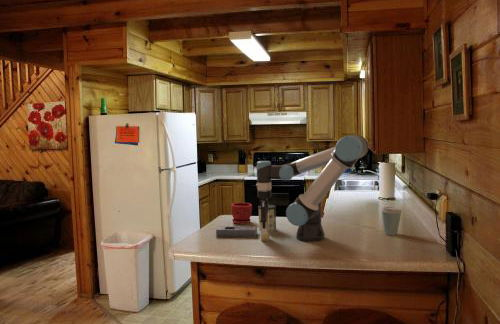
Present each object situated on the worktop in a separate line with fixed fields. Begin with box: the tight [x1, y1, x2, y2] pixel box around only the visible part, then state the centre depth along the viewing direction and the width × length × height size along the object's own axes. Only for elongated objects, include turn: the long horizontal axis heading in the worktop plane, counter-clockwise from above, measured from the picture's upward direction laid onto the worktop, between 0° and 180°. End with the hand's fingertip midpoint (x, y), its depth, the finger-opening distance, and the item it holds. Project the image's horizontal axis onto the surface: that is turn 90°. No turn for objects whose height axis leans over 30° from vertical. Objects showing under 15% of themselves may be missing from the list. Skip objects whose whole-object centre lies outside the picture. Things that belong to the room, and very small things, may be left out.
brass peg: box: [260, 212, 270, 242], centre depth 227 cm, size 4×4×15 cm
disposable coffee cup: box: [380, 206, 402, 237], centre depth 232 cm, size 11×11×15 cm
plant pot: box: [230, 202, 253, 225], centre depth 269 cm, size 13×13×12 cm
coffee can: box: [257, 204, 277, 233], centre depth 249 cm, size 10×10×14 cm
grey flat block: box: [215, 225, 258, 238], centre depth 238 cm, size 22×8×4 cm, turn 82°
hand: (265, 232), depth 227 cm, fingers open, 8 cm apart
